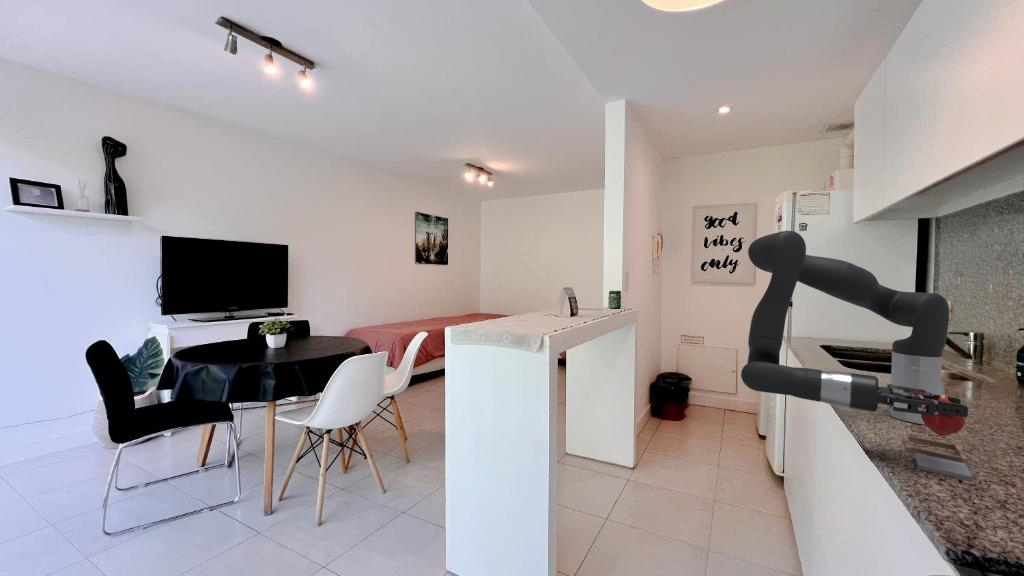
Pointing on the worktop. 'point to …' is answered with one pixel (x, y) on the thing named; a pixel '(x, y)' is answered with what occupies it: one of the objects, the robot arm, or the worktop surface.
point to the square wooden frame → (957, 448)
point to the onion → (943, 421)
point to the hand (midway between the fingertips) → (962, 407)
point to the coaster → (943, 466)
